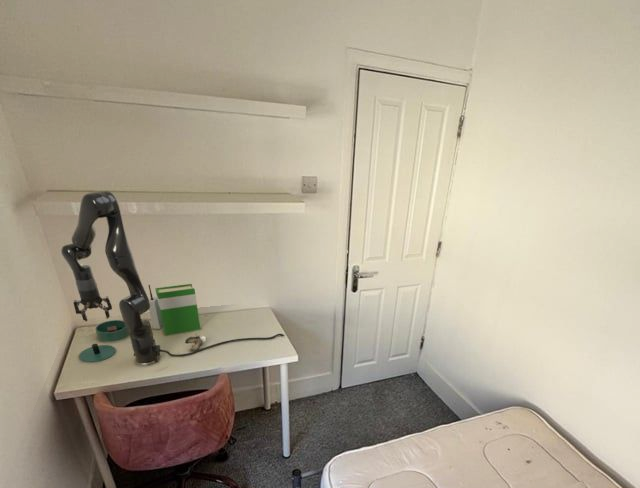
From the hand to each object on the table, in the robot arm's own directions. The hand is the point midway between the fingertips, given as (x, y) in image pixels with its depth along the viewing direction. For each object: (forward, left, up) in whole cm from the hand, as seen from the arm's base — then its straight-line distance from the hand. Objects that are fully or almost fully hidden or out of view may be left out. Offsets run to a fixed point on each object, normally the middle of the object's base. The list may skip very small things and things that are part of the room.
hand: (97, 319), depth 184 cm
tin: (-2, -11, -15) cm, 19 cm away
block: (-2, -11, -15) cm, 19 cm away
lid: (+2, +7, -15) cm, 17 cm away
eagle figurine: (-42, +9, -16) cm, 46 cm away
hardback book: (-35, -12, -16) cm, 40 cm away
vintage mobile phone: (-23, -17, -16) cm, 32 cm away
